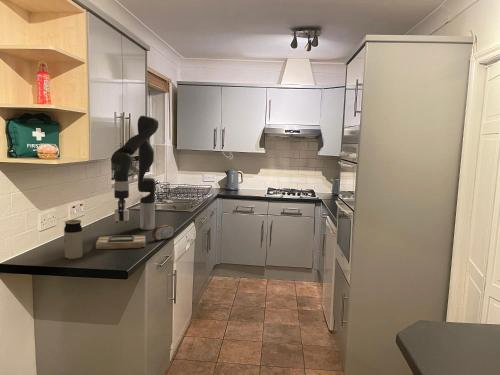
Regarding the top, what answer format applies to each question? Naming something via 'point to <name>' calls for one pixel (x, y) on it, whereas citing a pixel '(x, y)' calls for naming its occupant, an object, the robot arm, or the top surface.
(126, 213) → the white block
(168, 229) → the tin
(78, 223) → the travel mug
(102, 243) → the loading dock
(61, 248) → the top surface
